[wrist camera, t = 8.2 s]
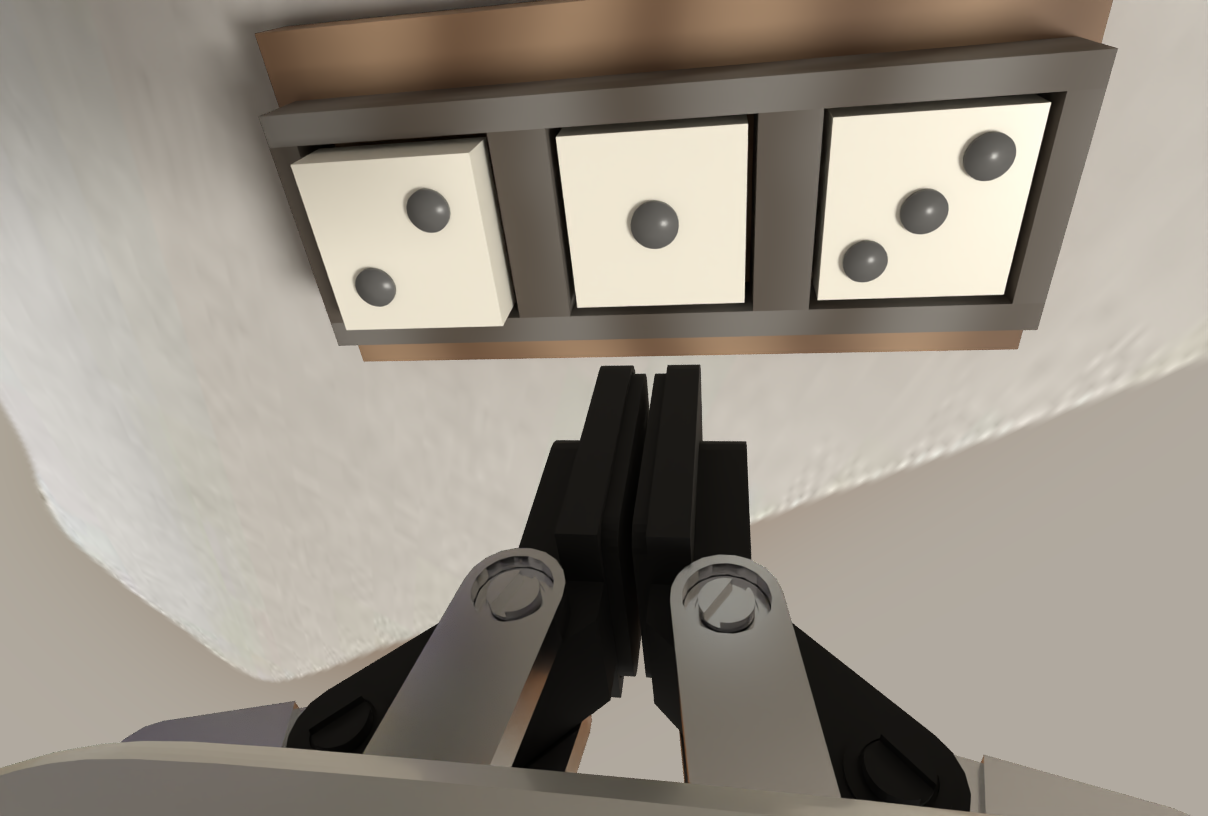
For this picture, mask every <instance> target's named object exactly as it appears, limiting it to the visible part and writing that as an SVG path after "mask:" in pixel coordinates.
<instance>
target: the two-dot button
mask: <svg viewBox="0 0 1208 816" xmlns="http://www.w3.org/2000/svg"><path fill="white" fill-rule="evenodd" d="M291 168H292V171H293V174H294V177H295V180H296V183H297V186H298V188H299V191H300V194H301V197H302V200H303V203H304V206H305V209H306V212H307V215H308V218H309V221H310V224H311V227H312V230H313V233H314V236H315V239H316V242H317V245H318V248H319V250H320V253H321V256H322V259H323V262H324V265H325V268H326V271H327V274H328V277H329V280H330V283H331V286H332V289H333V292H334V295H335V298H336V301H337V304H338V307H339V309H340V312H341V315H342V318H343V321H344V324H345V327H346V330H372V329H410V328H448V327H486V326H503V325H504V323H505V321H506V319H507V317H508V315H509V313H510V311H511V310H512V308H513V306H514V304H515V302H516V300H515V294H514V289H513V283H512V278H511V272H510V267H509V261H508V256H507V250H506V245H505V239H504V234H503V228H502V223H501V217H500V212H499V206H498V200H497V195H496V189H495V184H494V178H493V173H492V167H491V162H490V156H489V151H488V145H487V140H486V137H477V138H462V139H448V140H434V141H420V142H406V143H392V144H377V145H363V146H349V147H335V148H321V149H317V150H316V151H314V152H312V153H310V154H309V155H307V156H305V157H303V158H302V159H300V160H298V161H296V162H295V163H293V164H291Z"/></svg>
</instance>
